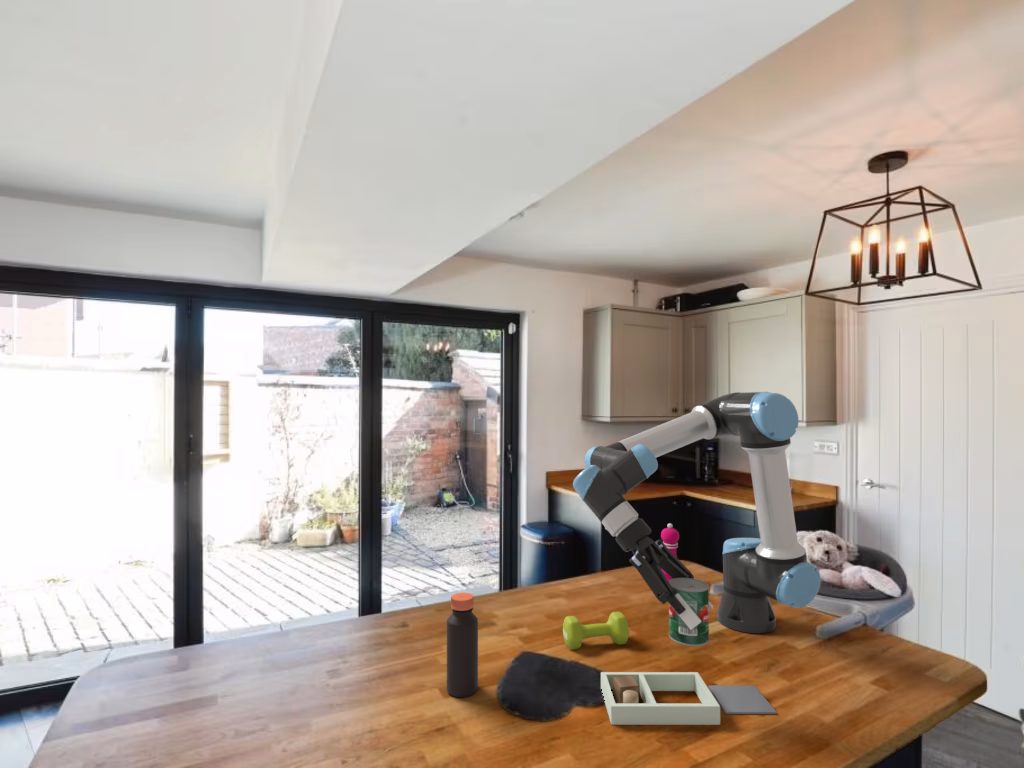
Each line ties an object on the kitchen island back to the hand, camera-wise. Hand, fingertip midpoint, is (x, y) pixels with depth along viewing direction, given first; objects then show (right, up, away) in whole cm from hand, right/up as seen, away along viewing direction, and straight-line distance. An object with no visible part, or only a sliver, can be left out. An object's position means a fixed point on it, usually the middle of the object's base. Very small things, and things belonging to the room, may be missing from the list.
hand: (702, 618), depth 111 cm
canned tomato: (-2, -5, +2) cm, 6 cm away
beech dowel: (-15, -18, -2) cm, 24 cm away
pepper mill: (+15, -20, +74) cm, 78 cm away
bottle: (-49, -19, +8) cm, 53 cm away
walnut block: (-15, -19, +3) cm, 24 cm away
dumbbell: (-17, -19, +29) cm, 39 cm away
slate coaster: (+9, -18, +3) cm, 21 cm away
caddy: (-9, -18, +1) cm, 21 cm away
